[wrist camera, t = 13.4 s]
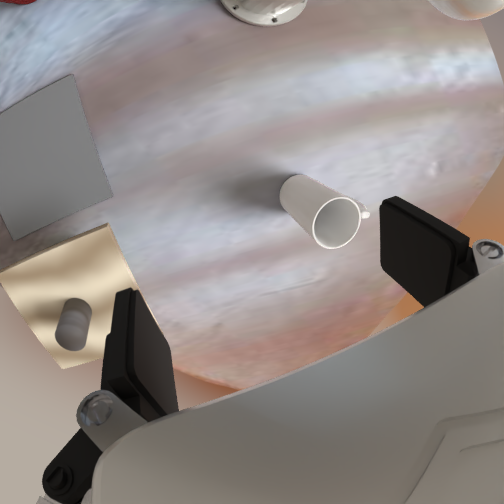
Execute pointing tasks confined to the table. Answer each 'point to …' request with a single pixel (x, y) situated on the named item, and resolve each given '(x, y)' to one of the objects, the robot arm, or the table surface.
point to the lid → (71, 293)
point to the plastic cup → (18, 1)
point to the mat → (47, 160)
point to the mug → (322, 211)
